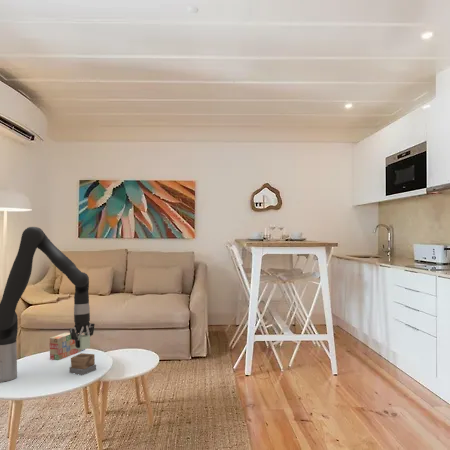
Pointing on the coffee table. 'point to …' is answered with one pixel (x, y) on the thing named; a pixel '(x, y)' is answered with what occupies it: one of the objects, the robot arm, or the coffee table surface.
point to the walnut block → (82, 361)
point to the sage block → (84, 342)
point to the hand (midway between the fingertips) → (82, 346)
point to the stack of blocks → (62, 346)
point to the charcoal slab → (82, 370)
